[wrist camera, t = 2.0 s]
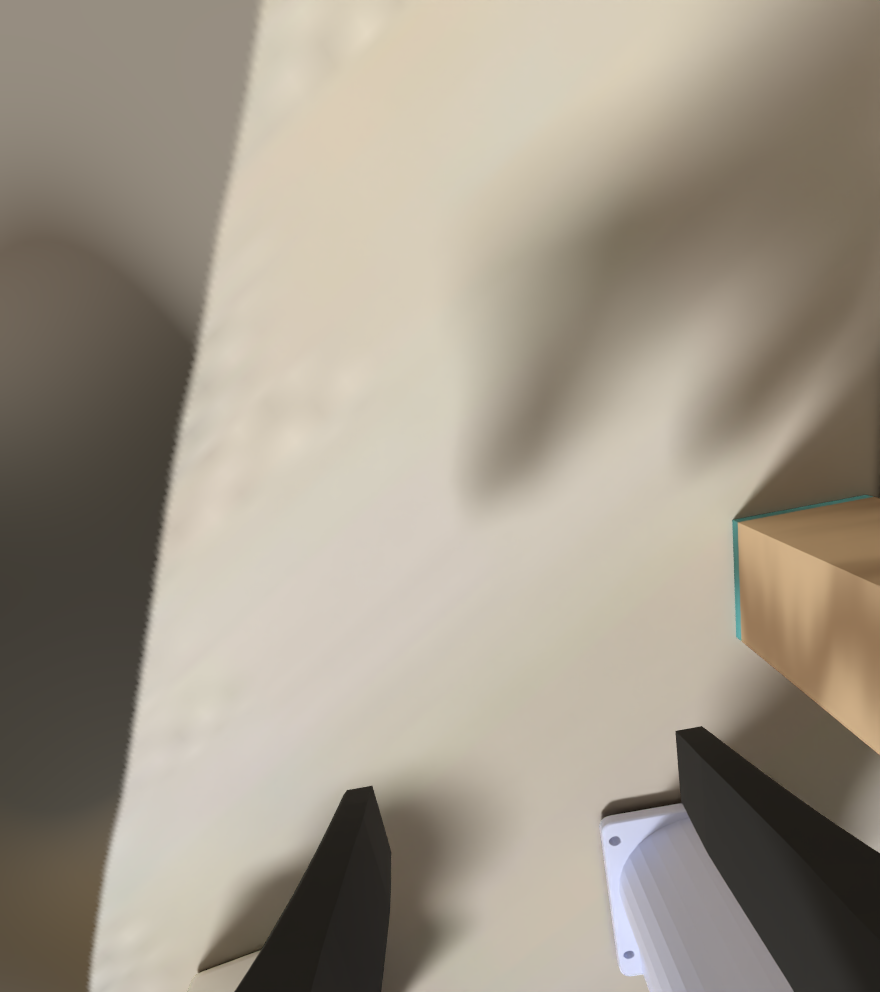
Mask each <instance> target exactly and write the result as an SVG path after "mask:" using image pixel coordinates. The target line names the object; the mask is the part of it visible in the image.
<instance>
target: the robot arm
mask: <svg viewBox="0 0 880 992" xmlns="http://www.w3.org/2000/svg"><path fill="white" fill-rule="evenodd" d="M676 744H677V756H678V769H679V781H680V794H681V802H682V803H679V804H673V805H667V806H661V807H656V808H650V809H644V810H638V811H633V812H627V813H621V814H615V815H610V816H607V817H605V818H603V819H602V820H601V822H600V826H599V827H600V834H601V842H602V850H603V857H604V865H605V872H606V880H607V887H608V895H609V902H610V910H611V917H612V925H613V932H614V940H615V947H616V955H617V962H618V965H619V968H620V971H621V973H622V974H624V975H626V976H635V975H641V974H643V975H644V977H645V980H646V983H647V986H648V988H649V991H650V992H880V853H879V852H877V851H875V850H874V849H872V848H871V847H869V846H868V845H866V844H865V843H863V842H862V841H860V840H859V839H857V838H856V837H854V836H853V835H851V834H849V833H848V832H846V831H845V830H843V829H842V828H840V827H839V826H837V825H836V824H834V823H833V822H832V821H830V820H829V819H827V818H826V817H824V816H823V815H821V814H820V813H818V812H817V811H816V810H814V809H813V808H811V807H810V806H809V805H807V804H806V803H804V802H803V801H801V800H800V799H799V798H797V797H796V796H794V795H793V794H792V793H790V792H789V791H787V790H786V789H785V788H783V787H782V786H780V785H779V784H778V783H776V782H775V781H774V780H772V779H771V778H770V777H768V776H767V775H766V774H764V773H763V772H762V771H760V770H759V769H758V768H756V767H755V766H754V765H752V764H751V763H750V762H748V761H747V760H746V759H744V758H743V757H742V756H740V755H739V754H738V753H736V752H735V751H734V750H732V749H731V748H730V747H728V746H727V745H726V744H725V743H723V742H722V741H721V740H719V739H718V738H717V737H715V736H714V735H713V734H711V733H710V732H709V731H707V730H706V729H705V728H703V727H702V726H701V727H695V728H690V729H684V730H679V731H676ZM390 896H391V850H390V846H389V843H388V839H387V836H386V832H385V829H384V825H383V822H382V818H381V815H380V811H379V808H378V804H377V801H376V797H375V794H374V790H373V787H372V786H368V787H363V788H357V789H352V790H347V791H346V793H345V794H344V795H343V797H342V800H341V802H340V804H339V806H338V808H337V810H336V812H335V814H334V816H333V818H332V821H331V823H330V825H329V827H328V829H327V831H326V833H325V835H324V837H323V839H322V841H321V843H320V845H319V847H318V849H317V851H316V853H315V855H314V857H313V858H312V860H311V862H310V864H309V866H308V868H307V870H306V872H305V873H304V875H303V877H302V879H301V881H300V883H299V885H298V887H297V889H296V890H295V892H294V894H293V896H292V898H291V899H290V901H289V903H288V905H287V906H286V908H285V910H284V912H283V913H282V915H281V917H280V918H279V920H278V922H277V924H276V925H275V927H274V929H273V930H272V932H271V934H270V936H269V937H268V939H267V941H266V942H265V944H264V946H263V947H262V949H261V951H260V952H259V954H258V955H257V957H256V959H255V960H254V962H253V963H252V965H251V967H250V968H249V970H248V971H247V973H246V975H245V976H244V978H243V979H242V981H241V982H240V984H239V985H238V987H237V988H236V990H235V991H234V992H381V988H382V979H383V970H384V961H385V952H386V943H387V934H388V924H389V914H390Z"/></svg>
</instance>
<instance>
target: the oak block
mask: <svg viewBox="0 0 880 992" xmlns="http://www.w3.org/2000/svg"><path fill="white" fill-rule="evenodd" d="M732 522H733V551H734V580H735V609H736V637H737V638H738V639H740V640H741V641H742V642H743V643H744V644H746V645H747V646H748V647H749V648H750V649H752V650H753V651H754V652H755V653H757V654H758V655H759V656H760V657H761V658H763V659H764V660H765V661H766V662H767V663H769V664H770V665H771V666H772V667H773V668H775V669H776V670H777V671H778V672H780V673H781V674H782V675H783V676H784V677H786V678H787V679H788V680H789V681H790V682H792V683H793V684H794V685H795V686H797V687H798V688H799V689H800V690H801V691H803V692H804V693H805V694H806V695H807V696H809V697H810V698H811V699H812V700H814V701H815V702H816V703H817V704H818V705H820V706H821V707H822V708H823V709H824V710H826V711H827V712H828V713H829V714H830V715H832V716H833V717H834V718H835V719H837V720H838V721H839V722H840V723H841V724H843V725H844V726H845V727H846V728H847V729H849V730H850V731H851V732H852V733H854V734H855V735H856V736H857V737H858V738H860V739H861V740H862V741H863V742H864V743H866V744H867V745H868V746H869V747H871V748H872V749H873V750H874V751H875V752H877V753H878V754H879V755H880V498H877V497H873V496H869V495H862V496H857V497H852V498H847V499H841V500H836V501H831V502H825V503H820V504H815V505H809V506H804V507H799V508H793V509H788V510H783V511H777V512H772V513H767V514H761V515H756V516H751V517H745V518H740V519H735V520H732Z"/></svg>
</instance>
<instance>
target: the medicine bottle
mask: <svg viewBox="0 0 880 992" xmlns="http://www.w3.org/2000/svg"><path fill="white" fill-rule="evenodd" d="M260 951H261V950H259V951H257V952H254V953H251V954H249V955H246V956H243V957H240V958H238V959H235V960H232V961H230V962H227V963H224V964H221V965H219V966H216V967H213V968H210V969H208V970H205V971H202V972H200V973H198V974H196V975H195V976H194V977H193V979H192V981H191V983H190V986H189V988H188V991H187V992H234V991H235V990H236V988H237V987H238V985H239V984H240V982H241V981H242V979H243V978H244V976H245V975H246V973H247V971H248V970H249V968H250V967H251V965H252V963H253V962H254V960H255V959H256V957H257V955H258V954H259V952H260Z"/></svg>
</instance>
